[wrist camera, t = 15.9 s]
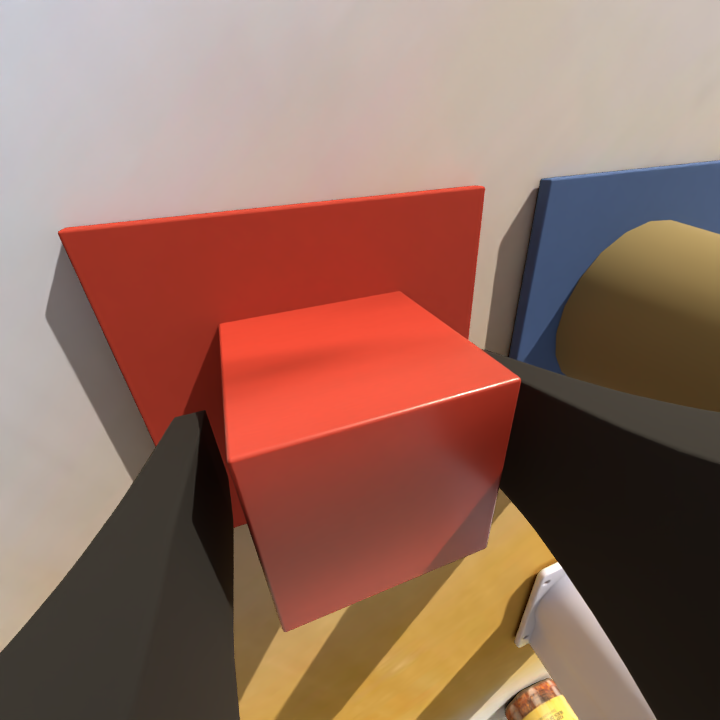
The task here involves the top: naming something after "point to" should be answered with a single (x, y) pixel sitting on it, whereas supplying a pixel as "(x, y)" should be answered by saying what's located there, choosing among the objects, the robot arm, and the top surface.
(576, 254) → the blue mat
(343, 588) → the red block
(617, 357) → the cork
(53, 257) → the top surface
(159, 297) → the red mat
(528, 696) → the sauce bottle
